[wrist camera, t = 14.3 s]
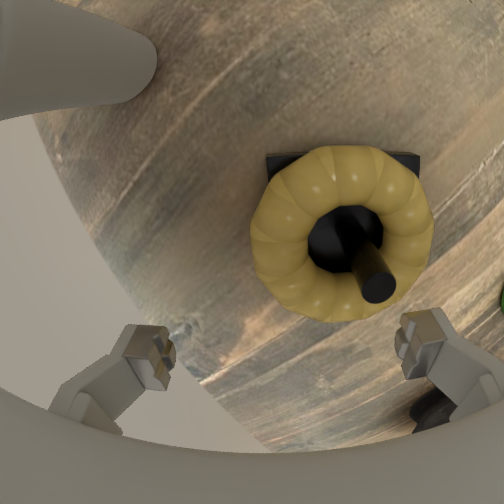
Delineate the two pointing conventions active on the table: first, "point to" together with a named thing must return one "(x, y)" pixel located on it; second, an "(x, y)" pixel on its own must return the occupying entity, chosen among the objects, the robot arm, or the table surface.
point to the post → (350, 236)
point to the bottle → (502, 302)
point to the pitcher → (432, 410)
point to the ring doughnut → (320, 203)
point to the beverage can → (67, 58)
